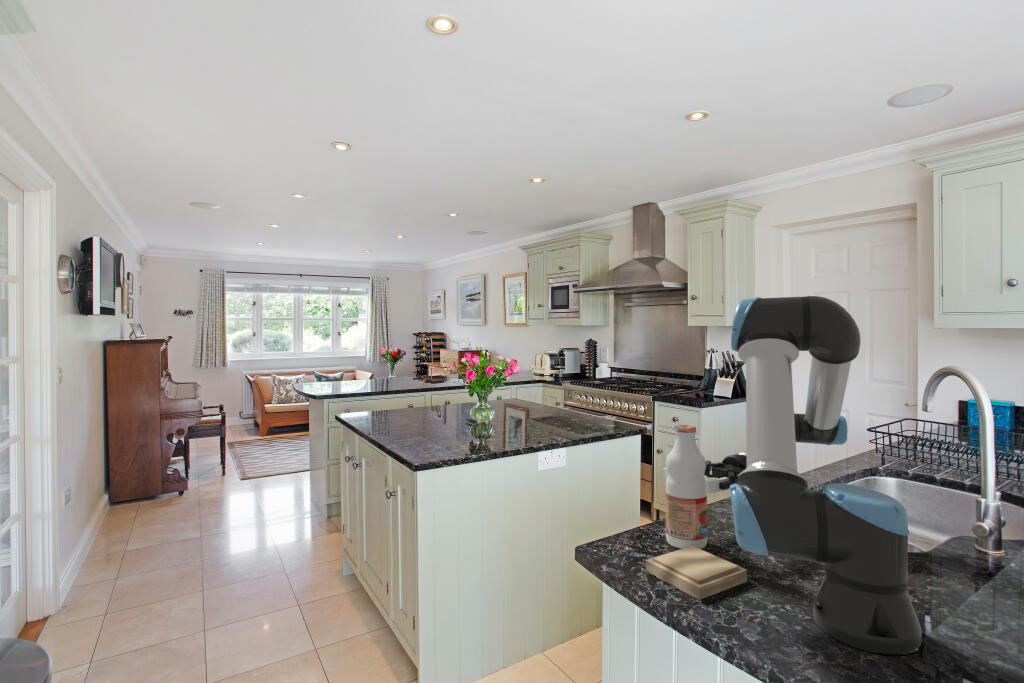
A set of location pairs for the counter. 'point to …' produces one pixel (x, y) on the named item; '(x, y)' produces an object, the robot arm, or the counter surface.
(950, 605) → the counter surface
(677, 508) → the fruit juice
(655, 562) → the board
